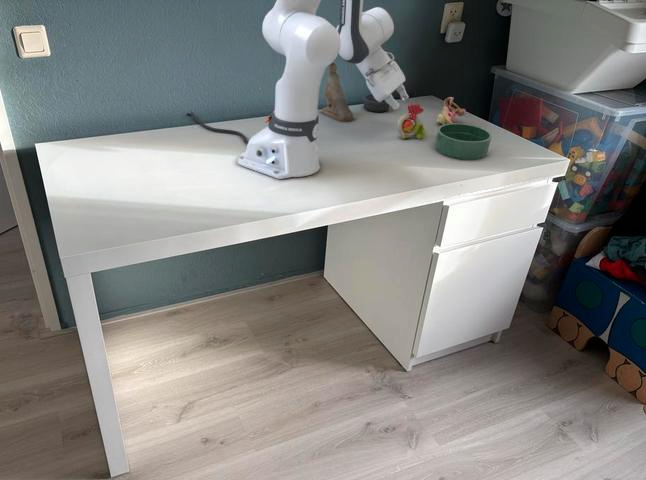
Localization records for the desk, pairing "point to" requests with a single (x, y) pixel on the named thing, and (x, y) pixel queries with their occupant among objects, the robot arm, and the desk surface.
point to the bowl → (463, 141)
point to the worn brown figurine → (336, 98)
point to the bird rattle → (407, 125)
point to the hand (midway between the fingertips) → (402, 103)
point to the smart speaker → (375, 104)
